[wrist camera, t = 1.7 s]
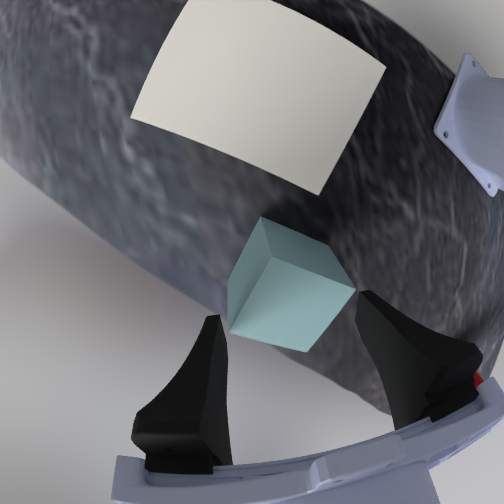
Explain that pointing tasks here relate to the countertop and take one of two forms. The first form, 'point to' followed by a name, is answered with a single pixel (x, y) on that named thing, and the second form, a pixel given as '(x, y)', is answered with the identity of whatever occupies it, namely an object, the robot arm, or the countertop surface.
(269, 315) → the teal cube
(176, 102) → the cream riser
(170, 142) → the countertop surface
